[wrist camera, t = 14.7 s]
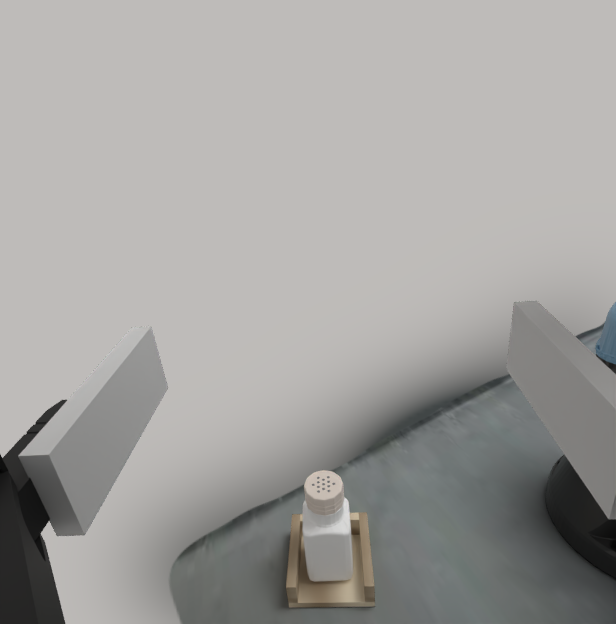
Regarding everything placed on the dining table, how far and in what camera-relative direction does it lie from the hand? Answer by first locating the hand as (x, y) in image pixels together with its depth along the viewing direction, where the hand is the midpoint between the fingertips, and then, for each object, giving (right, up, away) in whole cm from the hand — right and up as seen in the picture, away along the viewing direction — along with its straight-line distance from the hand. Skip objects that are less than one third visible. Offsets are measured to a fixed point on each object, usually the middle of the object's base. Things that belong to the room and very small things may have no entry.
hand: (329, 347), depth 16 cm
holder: (+1, -22, +24) cm, 32 cm away
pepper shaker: (+1, -22, +24) cm, 32 cm away
